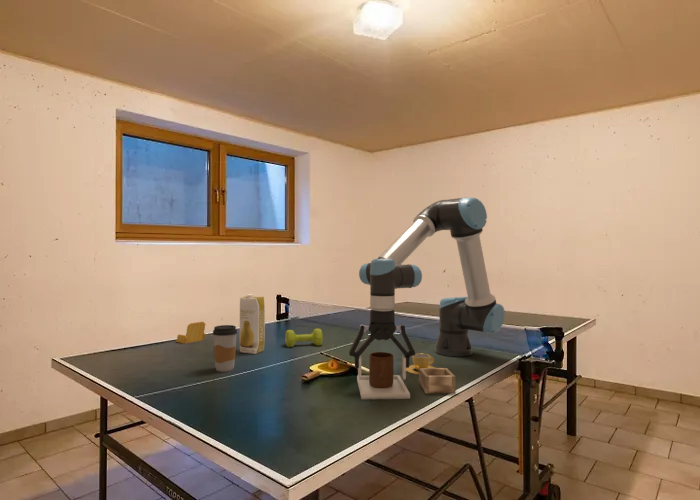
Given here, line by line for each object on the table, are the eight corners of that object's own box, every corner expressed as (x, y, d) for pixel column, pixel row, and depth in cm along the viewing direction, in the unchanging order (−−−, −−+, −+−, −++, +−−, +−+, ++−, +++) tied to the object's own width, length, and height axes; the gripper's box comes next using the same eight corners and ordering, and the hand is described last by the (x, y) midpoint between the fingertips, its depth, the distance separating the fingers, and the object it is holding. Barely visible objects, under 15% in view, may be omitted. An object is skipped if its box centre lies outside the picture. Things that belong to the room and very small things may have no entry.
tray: (399, 379, 140) (399, 375, 140) (410, 398, 122) (410, 393, 122) (357, 380, 140) (357, 375, 140) (361, 399, 122) (361, 394, 122)
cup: (416, 377, 144) (416, 361, 144) (398, 368, 155) (398, 353, 155) (445, 373, 149) (445, 357, 149) (426, 364, 160) (426, 350, 160)
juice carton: (236, 352, 176) (237, 294, 176) (248, 348, 183) (248, 292, 183) (256, 355, 172) (256, 295, 172) (266, 350, 179) (267, 293, 180)
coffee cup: (241, 367, 154) (241, 325, 154) (227, 373, 146) (228, 329, 146) (221, 365, 157) (222, 324, 157) (207, 371, 149) (207, 328, 149)
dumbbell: (320, 343, 196) (320, 327, 196) (323, 346, 188) (324, 330, 188) (284, 344, 192) (284, 328, 192) (286, 348, 184) (286, 332, 184)
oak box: (446, 383, 137) (446, 368, 137) (455, 393, 128) (455, 376, 128) (418, 383, 136) (419, 368, 136) (425, 393, 127) (425, 376, 127)
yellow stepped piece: (195, 338, 205) (195, 319, 205) (207, 340, 199) (207, 321, 199) (175, 341, 196) (175, 321, 196) (186, 344, 191) (187, 324, 191)
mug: (396, 393, 125) (397, 361, 125) (370, 393, 125) (371, 361, 125) (391, 381, 137) (392, 351, 137) (368, 381, 137) (368, 351, 137)
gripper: (419, 307, 136) (419, 374, 135) (341, 307, 134) (340, 375, 134) (425, 310, 128) (424, 381, 128) (342, 310, 127) (341, 382, 127)
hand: (381, 378), depth 131 cm, fingers open, 13 cm apart
